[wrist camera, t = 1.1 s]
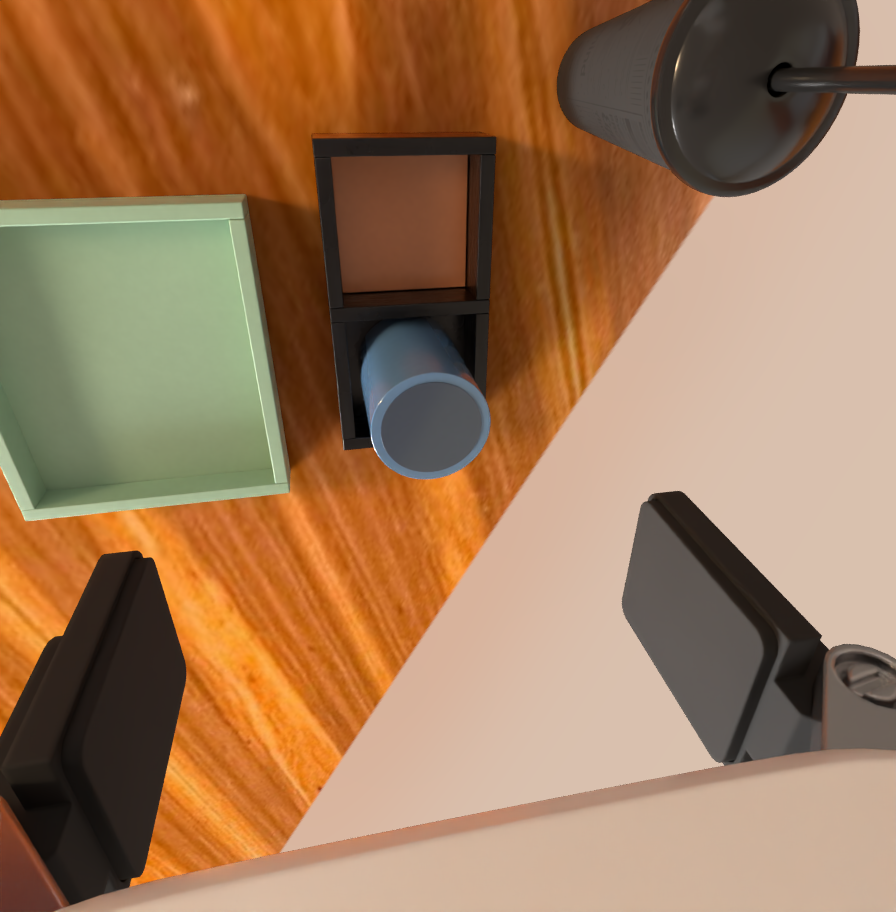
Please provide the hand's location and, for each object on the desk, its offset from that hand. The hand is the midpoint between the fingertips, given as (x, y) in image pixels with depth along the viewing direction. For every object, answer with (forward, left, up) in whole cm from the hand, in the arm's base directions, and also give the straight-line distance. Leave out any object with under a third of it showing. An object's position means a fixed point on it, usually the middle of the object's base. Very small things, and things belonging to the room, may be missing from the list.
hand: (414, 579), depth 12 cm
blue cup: (+7, +3, -27) cm, 28 cm away
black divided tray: (+3, +3, -27) cm, 28 cm away
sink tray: (+6, -13, -27) cm, 31 cm away
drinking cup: (-8, +14, -27) cm, 32 cm away
